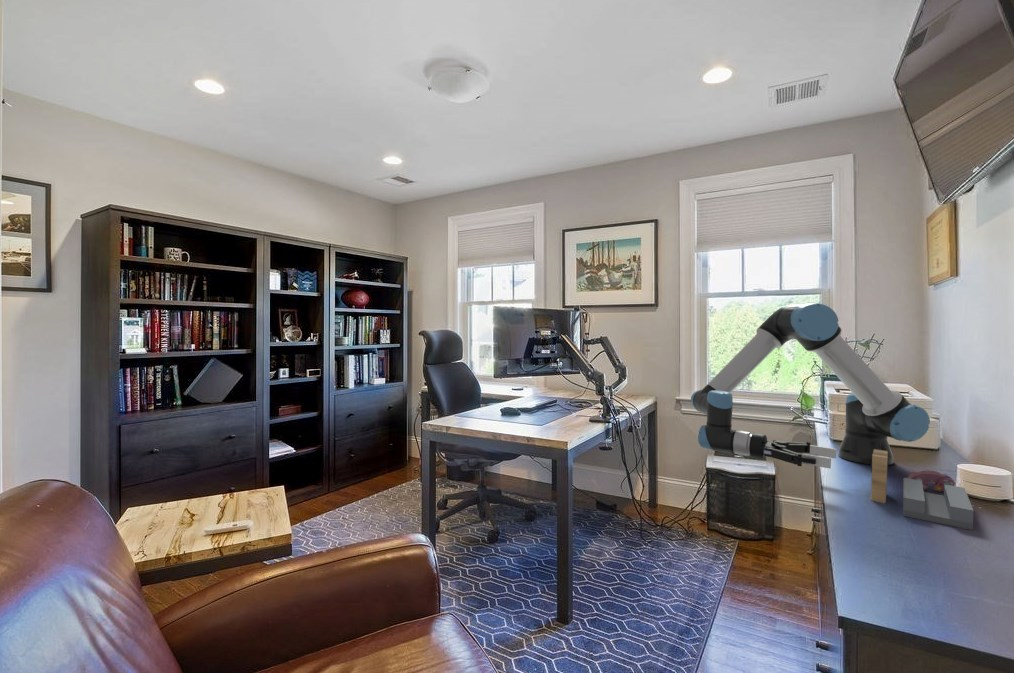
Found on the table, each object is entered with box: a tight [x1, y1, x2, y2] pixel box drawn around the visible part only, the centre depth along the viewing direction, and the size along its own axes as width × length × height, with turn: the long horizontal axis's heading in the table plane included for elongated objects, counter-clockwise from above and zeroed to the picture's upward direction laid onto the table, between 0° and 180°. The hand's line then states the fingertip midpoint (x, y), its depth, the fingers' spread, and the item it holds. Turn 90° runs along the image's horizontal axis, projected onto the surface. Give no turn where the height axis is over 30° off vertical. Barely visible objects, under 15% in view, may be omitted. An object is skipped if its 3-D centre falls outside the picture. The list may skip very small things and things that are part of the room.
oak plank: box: [870, 449, 888, 504], centre depth 125 cm, size 9×3×12 cm, turn 140°
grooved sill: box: [902, 477, 974, 531], centre depth 117 cm, size 20×12×4 cm, turn 140°
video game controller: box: [906, 469, 956, 493], centre depth 131 cm, size 10×5×7 cm, turn 63°
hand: (833, 458), depth 132 cm, fingers open, 13 cm apart
